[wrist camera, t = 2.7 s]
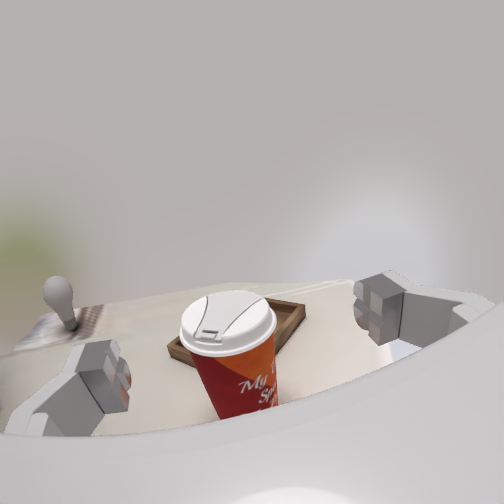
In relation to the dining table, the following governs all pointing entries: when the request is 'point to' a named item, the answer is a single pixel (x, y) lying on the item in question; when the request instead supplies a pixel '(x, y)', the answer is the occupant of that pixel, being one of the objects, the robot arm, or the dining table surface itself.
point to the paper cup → (233, 350)
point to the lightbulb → (60, 299)
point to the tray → (286, 324)
